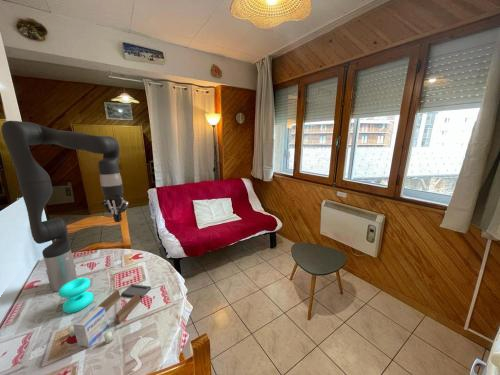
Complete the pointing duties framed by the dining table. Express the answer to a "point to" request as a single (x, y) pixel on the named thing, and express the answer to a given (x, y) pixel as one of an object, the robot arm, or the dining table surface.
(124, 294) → the pit tray
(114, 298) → the channel
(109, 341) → the pair of cream knobs
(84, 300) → the turquoise spool
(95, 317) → the medicine box
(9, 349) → the dining table surface
